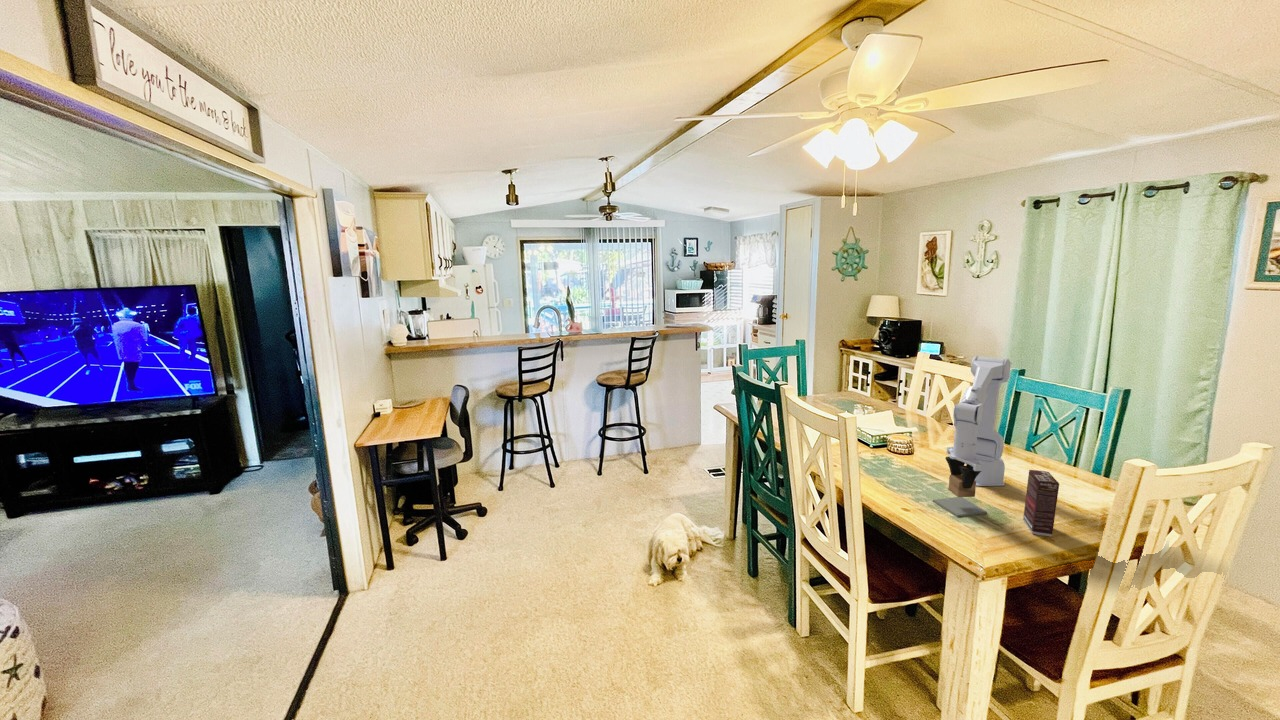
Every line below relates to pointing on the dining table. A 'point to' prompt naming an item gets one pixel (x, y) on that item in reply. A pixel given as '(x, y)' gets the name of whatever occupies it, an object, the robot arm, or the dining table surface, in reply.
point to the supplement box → (1040, 502)
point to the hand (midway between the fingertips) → (961, 483)
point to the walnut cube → (960, 487)
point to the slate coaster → (959, 506)
